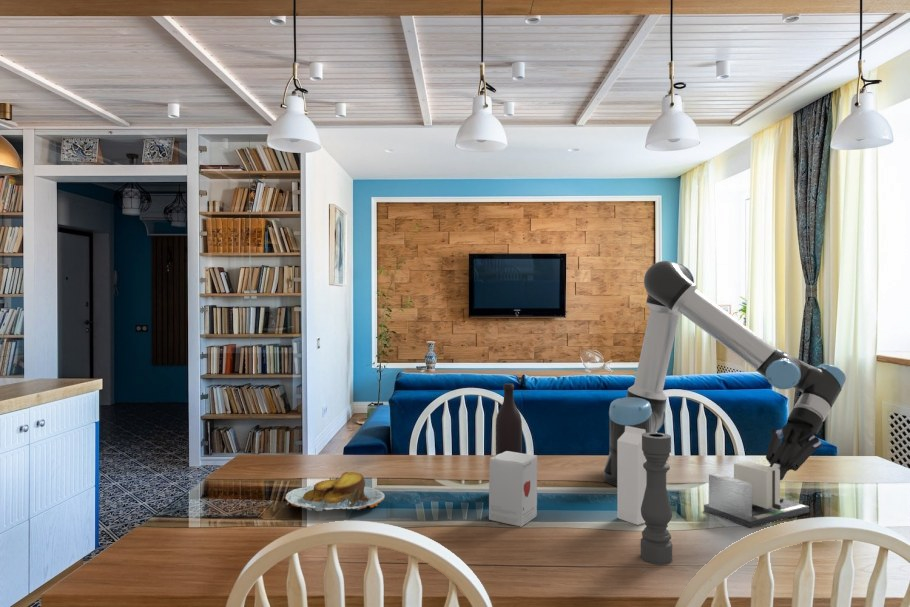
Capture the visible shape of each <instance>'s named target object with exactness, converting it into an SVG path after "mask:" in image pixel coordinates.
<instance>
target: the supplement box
mask: <svg viewBox="0 0 910 607" xmlns="http://www.w3.org/2000/svg"><path fill="white" fill-rule="evenodd" d="M488 468H489V470H488V473H489V474H488V476H489V477H488V478H489V480H488V483H489V484H488V520H490V521H494V522H497V523H498V522H499V523H503V524H508V525H511V526H512V525H513V526H516V527H521V528H522V527H523V526H524V525H526V524H528V523H529V522H531V521H532V520H533V519H534V518H536V517H537V516H538V455H536V454H529V453H523V452H522V453H517V452H511V451H505V452H503V453H501V454H498V455H496V454H495V455H494V456H492V457H489V466H488Z"/></svg>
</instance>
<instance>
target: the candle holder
mask: <svg viewBox="0 0 910 607" xmlns="http://www.w3.org/2000/svg"><path fill="white" fill-rule="evenodd" d="M642 451H643V454H644V456H645V459H646V460H647V461H646V462H645V463H643V467H644V469H646V489H645V493H644V497H643V501H642V505H641V515H642V518H643V520H644V521H645V523H644V524H645V528H644V529H643V530H642V531H641V537H642V538H640V558H641V560H643V561H644V562H646V563H648V564H649V563H650V564H653V565H661V566H662V565H669V564H672V562H673V542H672V541H671V539H672V535H671V533H670V532H669V530H668V529H667V528H668V527H669V525H668V524H669V523H670V522H671V520H672V517H673V509H672V507H671V502H670V497H669V493H668V490H667V473H668V471H669V470H670V468H671V467H670V464H668V463H667V461H668V459H669V458H670V454H671V453H672V436H671V435H670V434H667V433H663V432H656V433H654V432H650V433H643V434H642Z"/></svg>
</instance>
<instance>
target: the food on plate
mask: <svg viewBox="0 0 910 607" xmlns="http://www.w3.org/2000/svg"><path fill="white" fill-rule="evenodd" d="M385 496H386V494H385V493H384V492H383V491H382V490H379V489H376V488H374V487H372V486H366V480H365V478H364V475H363V474H362V473H359V472H353V471H351V472H350V471H349V472H348V471H345V472H343V473H342V474H341V476H340V477H339V479H338V478H337V479H336V478H335V479H334V478H333V479H326V480H321V481H318V482H317V483H315V484H313V485H308V486H305V487H299V488H295V489H292V490H289V491H288V492H287V493H286V494H285V497H284V498H285V500H286V501H287V503H286V505H289V504H291V506H293V507H297V508H300V507H301V508H302V509H303V508H304V509H306V510H307V511H309V512H311V511H312V510H314V511H316V512H322V511H325V510H326V511H330V510H340V509H342V510H361V509H366V508H367V507H369V508H374V507H377V506H378V504H379V503H381V502H382V501H384V499H386V497H385Z"/></svg>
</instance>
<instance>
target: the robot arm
mask: <svg viewBox="0 0 910 607" xmlns="http://www.w3.org/2000/svg"><path fill="white" fill-rule="evenodd" d="M643 287H644V289H645V290H646V292H647V297H646V302H645V304H646V305H647V307H648V308H649V313H648V317H647V322H646V327H645V331H644V335H643V336H644V337H643V342H642V346H641V351H640V356H639V359H638V360H639V361H638V364H637V369H636V375H635V380H634V384H633V385H631V386H630V387H628V388H627V392H626V397H622V398H616V399H613V401H611V402H610V405H609V409H608V410H609V411H608V416H609V417H608V418H609V454H608V458H607V460H606V462H605V465H604V469H603V474H602V476H603V478H602V479H603V481H604V482H605V483H607V484H609V485H611V486H615V487H617V440H618V439H619V438H620V437H621V436H622V434H623V433H624V432H625V426H630V427H635V428H640V429H645V430H646V433H650V432H654V433H658V432H659V431H660V429H661V428H662V426H663V425H664V423H665V421H666V410H665V407H666V403H667V398H668V397H667V396H666V394H665V392H664V387H665V383H666V377H667V375H668V374H667V373H668V369H669V364H670V358H671V356H672V355H671V354H672V350H673V346H674V341H675V336H676V333H677V332H676V331H677V327H678V323H679V322H678V321H679V318H680V315H681V314H682V315H683V316H684V317H686V318H687V319H688V320H690V321H691V322H692V323H694V324H695V325H696V326H697V327H699V328H700V329H701V330H703V331H704V332H706V334H708V335H709V336H711V337H712V339H714V340H716V341H717V342H718V343H720V344H721V345H723V347H724V348H726V349H727V350H729V351H730V352H732V353H733V354H734V355H735V356H737V357H738V358H739V359H741V360H742V361H743V362H744V363H745V364H747V365H748V366H750V367H751V368H753V369H754V370H755V371H757V373H758V374H759V375H761V376H762V377H763V378H764V379H766V380H767V382H768V384H770V385H771V386H772V387H774V388H776V389H778V390H789V389H792V388H793V389H796V390H797V391H799V392H801V394H800V396H799V397H798V400H797V401H796V403H795V405H794V407H793V408H792V410H791V412H790V413H789V415H788V417H787V419H786V420H787V421H786V423H785V425H783V426H782V427H781V429H777V430H776V429H775V428H772V429H770V434H771V437H770V441H769V444H768V448H767V451H766V452H767V453H766V456H765V460H766V461H767V462H768V464H769V467H773V468H777V469H780V481H783V479H784V478H785V476H786V474H787V473H788V472H789V471H792V470H793V472H796V471H798V470H799V468H801V466H802V465H803V464H804V463H805V462H806V461H807V460H808V458H810V456H812V455H813V453H814V452H815V451H816V450H818V449H820V448H821V447H822V446H823V444H822V442H821V440H820V439H819V437H817V434H818V433H819V431H820V430H821V428H822V426H823V425H824V423H823V422H824V421H825V420H826V418H827V416H828V415H829V413H830V412H831V409H832V407H833V406H834V403H835V402H836V400H837V399H838V397H839V395H840V394H841V392H842V390H843V387H844V385H845V383H846V378H847V377H846V375H845V373H844V371H843V370H842V369H841V368H840V367H837V366H835V365H833V364H828V363H821V364H819V365H818V366H813V365H811V364H808V363H806V362H804V361H803V360H800V359H798V358H796V357H795V356H792V355H791V354H789V353H787V352H785V351H782V350H781V349H777V348H775V347H774V346H773V345H771V344H770V343H769V342H768V341H766V340H765V339H764V338H762V337H761V336H759V335H758V334H757V333H756V332H754V331H752V330H751V329H750V328H748V327H747V326H746V325H744V323H742V322H741V321H739V320H738V319H736V318H735V317H734V316H732V315H731V314H730V313H729V312H727V311H726V310H724V309H723V308H721V306H719V305H718V304H716V303H715V302H714V301H712V300H711V299H709V297H707V296H705V295H704V294H703V293H701V292H700V291H699V290H698V289H697V284H696V283H695V279H694V276H693V274H692V272H691V271H690V269H689V268H688V267H687V266H685V265H683V264H681V263H679V262H678V263H677V262H673V261H668V260H662V261H661V260H660V261H657V262H655V263H654V264H652V265H651V266H650V267H648V269H647V270H646V271H645V274H644V277H643Z"/></svg>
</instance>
